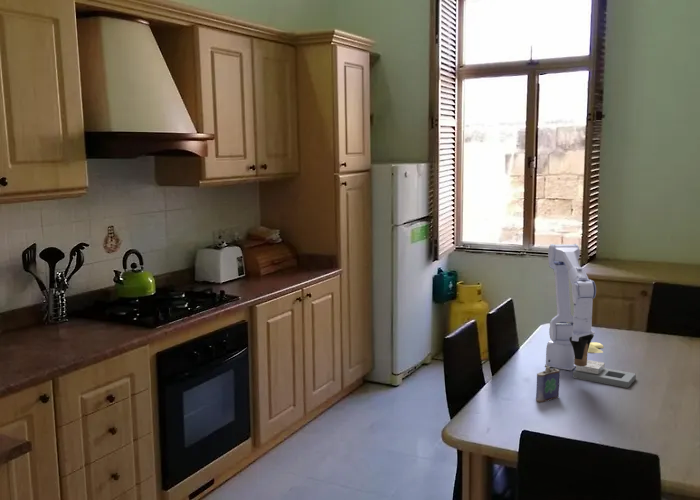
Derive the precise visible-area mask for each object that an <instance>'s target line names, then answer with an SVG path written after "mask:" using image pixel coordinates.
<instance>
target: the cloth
mask: <svg viewBox="0 0 700 500" xmlns="http://www.w3.org/2000/svg"><path fill="white" fill-rule="evenodd" d="M602 349H604V345H603V344H602V343H600V342H594V341H591V342H590V345H589V348H588V353H587V355H588V354H589V353H591V354H600V353H601V354H603V353H604V351H603V350H602Z"/></svg>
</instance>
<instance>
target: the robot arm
mask: <svg viewBox="0 0 700 500" xmlns="http://www.w3.org/2000/svg"><path fill="white" fill-rule="evenodd" d="M547 254H548V257H547V258H548V259H547V260H548V265H549V266H548V267H549V268H550V269H552V270H553V272H554V284H555V285H554V287H555V300H556V301H555V302H556V315H555V316H554V317H552V319H551V320H550V322H549V329H548V330H549V331H548V333H549V338H550V340H548V341H547V343H546V350H545V364H544V366H545V367H547V365H548V366H549V367H550V368H554V369H558V370H560V369H561V370H564V371H565V370H566V371H572V370H573V369H574V370H575V369H576V365H575V364H574V356H575V359H580V360H582V358H583V354H584V349H585V346H586V344H588V348H589V345H590V342H592V340H593V338H594V337H595V334H596V331H594V330H593V329H592V321H593V304H594V302H593V300H594V299H595V298H596V294H597V285H596V283H595V281H594V280H592V279H590V278H589V276H588V275H587V273H586V271H585V270H586V269H584V267H582V266H581V265H580V263H579V259H580V254H581V250H580V246H579V245H578V244H577V243H574V244H570V243H569V244H566V243H565V244H554V243H551V244H550V245H549V247H548V252H547ZM570 284H571V286H572V287H571V292H570ZM570 293H572V303H573V314H572V310H571V294H570Z"/></svg>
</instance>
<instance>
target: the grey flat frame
mask: <svg viewBox="0 0 700 500" xmlns="http://www.w3.org/2000/svg"><path fill="white" fill-rule="evenodd" d="M636 375H637V374H636V373H634V372H629V371H624V370H618V369H612V368H607V367H604V369H603V370H602V371H601V372H600V373H599V374H593V373H587V372H582V371H576V369H574V370H573V372H572V378H575V379H580V380H584V381H590V382H596V383H600V384H605V385H610V386H616V387H621V388H626V389H628V388H630V386H631V385H632V384H633V383H634V382H635V380H636V378H637V377H636Z"/></svg>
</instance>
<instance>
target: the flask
mask: <svg viewBox="0 0 700 500" xmlns="http://www.w3.org/2000/svg"><path fill="white" fill-rule="evenodd" d="M543 367H544V368H545V369H544V370H542V371H540V372H537V373H536V392H535V393H536V394H535V402H537V403H544V402H548V400H549V401H551V400H555V399H559V398H558V397H559V392H560V378H561V370H560V369H559V368H554V367H552V368H551V367H549V366H548V365H547V366H545V365H544V366H543Z"/></svg>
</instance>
